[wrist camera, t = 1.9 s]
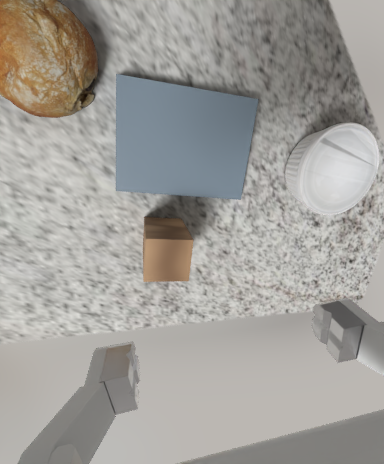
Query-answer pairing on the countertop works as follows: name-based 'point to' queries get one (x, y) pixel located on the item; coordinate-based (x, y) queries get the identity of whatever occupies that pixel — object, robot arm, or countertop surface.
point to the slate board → (181, 139)
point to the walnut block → (166, 250)
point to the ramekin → (333, 168)
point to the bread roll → (45, 58)
